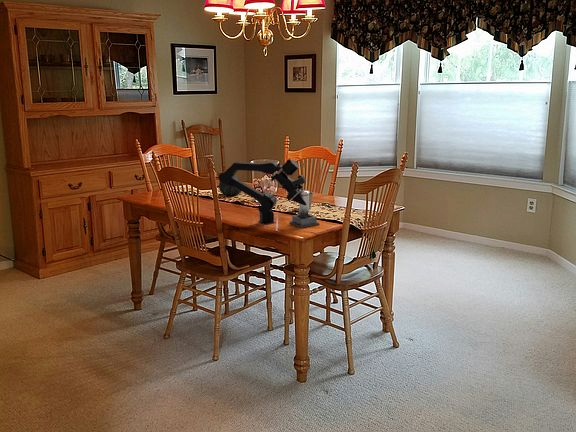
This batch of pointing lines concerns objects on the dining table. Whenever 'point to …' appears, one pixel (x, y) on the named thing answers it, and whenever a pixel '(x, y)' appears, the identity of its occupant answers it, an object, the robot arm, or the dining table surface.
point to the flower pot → (310, 199)
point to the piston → (303, 209)
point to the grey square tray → (304, 221)
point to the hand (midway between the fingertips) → (306, 203)
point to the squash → (228, 189)
